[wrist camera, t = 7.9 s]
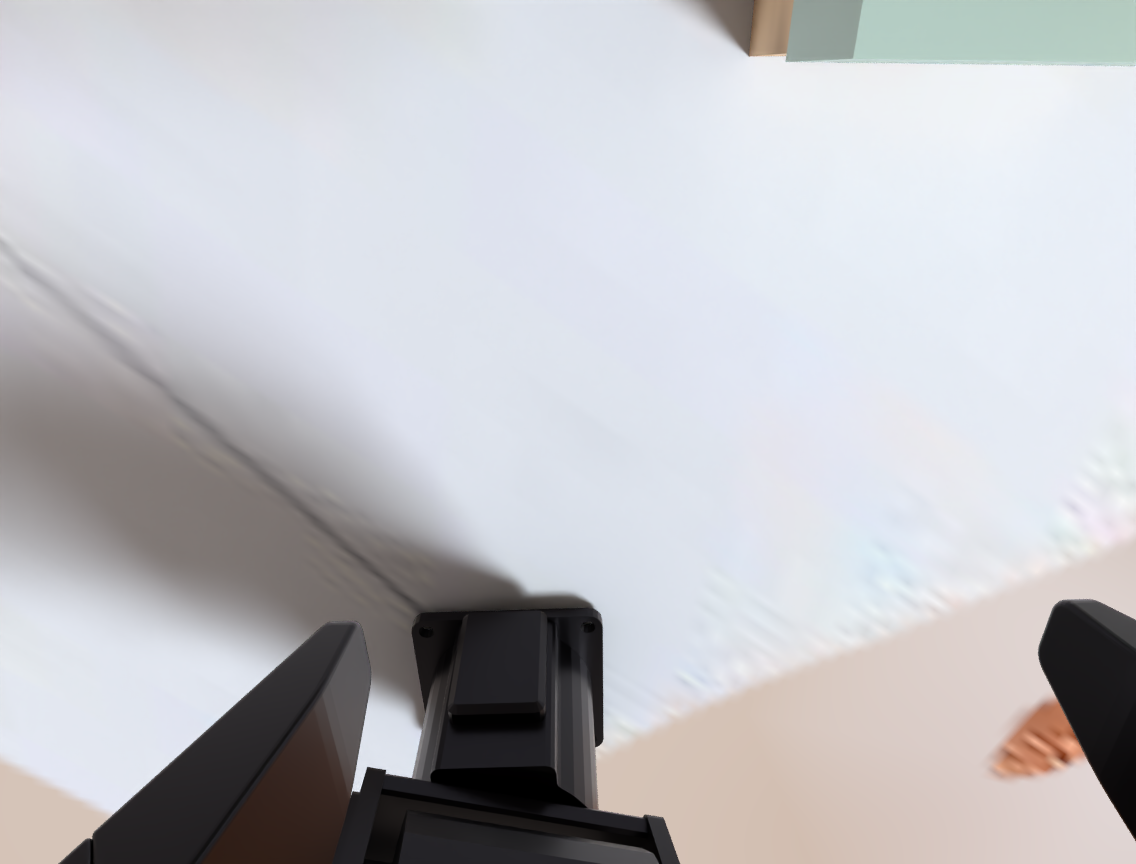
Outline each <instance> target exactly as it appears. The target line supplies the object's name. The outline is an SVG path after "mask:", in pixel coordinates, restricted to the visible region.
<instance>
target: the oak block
mask: <svg viewBox="0 0 1136 864" xmlns="http://www.w3.org/2000/svg"><path fill="white" fill-rule="evenodd" d="M793 2H794V0H754V8H753V19H752V29H751V40H750V50H749V56H786V55H787V47H788V40H789V32H790V25H791V17H792V10H793Z"/></svg>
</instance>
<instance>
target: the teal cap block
mask: <svg viewBox="0 0 1136 864" xmlns="http://www.w3.org/2000/svg"><path fill="white" fill-rule="evenodd" d="M786 62H837V63H916V64H994V65H1073V66H1136V0H794V2H793V10H792V17H791V25H790V32H789V40H788V47H787V55H786Z"/></svg>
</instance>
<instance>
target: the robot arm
mask: <svg viewBox="0 0 1136 864" xmlns="http://www.w3.org/2000/svg"><path fill="white" fill-rule="evenodd" d="M584 622H592V624H590V625H584V624H583V623H584ZM425 626H427V627H430V628H432V629H430V630H428V629H425V628H423V627H425ZM412 637H413V643H414V649H415V655H416V661H417V667H418V673H419V678H420V684H421V690H422V696H423V702H424V708H425V718H424V723H423V728H422V733H421V738H420V742H419V747H418V752H417V757H416V762H415V766H414V771H413V776H412V778H408V777H402V776H396V775H390V774H386V770H382V769H376V768H371V767H367V770H366V773H365V777H364V780H363V784H362V787H361V790H360V792H354V791H353V792H352V787H353V782H354V776H355V771H356V765H357V759H358V754H359V748H360V742H361V737H362V731H363V725H364V720H365V714H366V708H367V703H368V697H369V691H370V685H371V667H370V662H369V657H368V653H367V648H366V643H365V638H364V634H363V629H362V627H361V625H360V624H359V623H358V622H356V621H335V622H328V623H326V624H325V625H323V626H322V627H321V628H320V629H319V630H317V631H316V632H315V633H314V634H313V635H312V636H311V637H310V638H309V639H307V640H306V641H305V642H304V643H303V644H302V645H301V646H300V647H299V648H297V649H296V650H295V651H294V652H293V653H292V654H291V655H290V656H289V657H288V658H286V659H285V660H284V661H283V662H282V663H281V664H280V665H279V666H278V667H276V668H275V669H274V670H273V671H272V672H271V673H270V674H269V675H268V676H266V677H265V678H264V679H263V680H262V681H261V682H260V683H259V684H258V685H256V686H255V687H254V688H253V689H252V690H251V691H250V692H249V693H248V694H246V695H245V696H244V697H243V698H242V699H241V700H240V701H239V702H238V703H236V704H235V705H234V706H233V707H232V708H231V709H230V710H229V711H228V712H226V713H225V714H224V715H223V716H222V717H221V718H220V719H219V720H218V721H216V722H215V723H214V724H213V725H212V726H211V727H210V728H209V729H208V730H206V731H205V732H204V733H203V734H202V735H201V736H200V737H199V738H198V739H197V740H195V741H194V742H193V743H192V744H191V745H190V746H189V747H188V748H187V749H185V750H184V751H183V752H182V753H181V754H180V755H179V756H178V757H177V758H175V759H174V760H173V761H172V762H171V763H170V764H169V765H168V766H167V767H165V768H164V769H163V770H162V771H161V772H160V773H159V774H158V775H157V776H155V777H154V778H153V779H152V780H151V781H150V782H149V783H148V784H147V785H145V786H144V787H143V788H142V789H141V790H140V791H139V792H138V793H137V794H135V795H134V796H133V797H132V798H131V799H130V800H129V801H128V802H127V803H125V804H124V805H123V806H122V807H121V808H120V809H119V810H118V811H117V812H115V813H114V814H113V815H112V816H111V817H110V818H109V819H108V820H107V821H106V822H104V823H103V824H102V825H101V826H100V827H99V828H98V829H97V830H96V831H95V832H94V833H93V836H92V839H90V838H89V839H85V840H84V841H83V842H82V843H81V844H80V845H79V846H77V847H76V848H75V849H74V850H73V851H72V852H71V853H70V854H69V855H68V856H66V857H65V858H64V859H63V860H62V861H61V862H60V863H59V864H680V862H679V860H678V857H677V854H676V851H675V849H674V846H673V843H672V840H671V837H670V834H669V832H668V829H667V826H666V823H665V820H664V818H663V817H657V816H651V815H644V817H637V816H631V815H625V814H619V813H613V812H607V811H601V810H598V794H597V774H596V755H595V747H597V746H599V745H600V744H601V743H602V742H603V627H602V617H601V614H600V613H599V612H598V611H596V610H594V609H591V608H571V609H537V610H503V611H469V612H435V613H423V614H420V615H418V616H417V617H416V618H415V620H414V623H413V627H412ZM1038 656H1039V661H1040V665H1041V667H1042V670H1043V672H1044V674H1045V675H1046V678H1047V679H1048V681H1049V684H1050V685H1051V688H1052V690H1053V692H1054V694H1055V696H1056V698H1057V700H1058V702H1059V704H1060V706H1061V708H1062V710H1063V712H1064V714H1065V716H1066V718H1067V720H1068V722H1069V724H1070V726H1071V728H1072V730H1073V732H1074V734H1075V736H1076V738H1077V740H1078V742H1079V744H1080V746H1081V748H1082V750H1083V752H1084V754H1085V756H1086V758H1087V760H1088V762H1089V764H1090V765H1091V767H1092V769H1093V771H1094V773H1095V775H1096V776H1097V778H1098V780H1099V782H1100V784H1101V785H1102V787H1103V789H1104V790H1105V792H1106V794H1107V796H1108V797H1109V799H1110V801H1111V802H1112V804H1113V805H1114V807H1115V809H1116V810H1117V812H1118V813H1119V815H1120V817H1121V818H1122V819H1123V821H1124V823H1125V824H1126V826H1127V828H1128V829H1129V831H1130V833H1131V834H1132V836H1133V838H1134V839H1135V841H1136V620H1135V619H1133V618H1131V617H1129V616H1127V615H1125V614H1123V613H1121V612H1119V611H1116V610H1114V609H1113V608H1111V607H1108V606H1107V605H1105V604H1103V603H1101V602H1098V601H1096V600H1091V599H1074V600H1062V601H1059V602H1058V603H1057V604H1055V606H1054V607H1053V609H1052V611H1051V614H1050V617H1049V620H1048V622H1047V625H1046V628H1045V631H1044V633H1043V636H1042V639H1041V641H1040V644H1039V649H1038ZM351 792H352V795H351ZM350 797H351V798H350Z"/></svg>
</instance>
